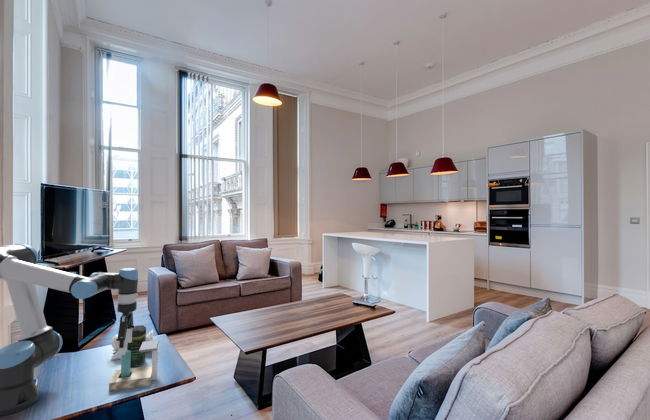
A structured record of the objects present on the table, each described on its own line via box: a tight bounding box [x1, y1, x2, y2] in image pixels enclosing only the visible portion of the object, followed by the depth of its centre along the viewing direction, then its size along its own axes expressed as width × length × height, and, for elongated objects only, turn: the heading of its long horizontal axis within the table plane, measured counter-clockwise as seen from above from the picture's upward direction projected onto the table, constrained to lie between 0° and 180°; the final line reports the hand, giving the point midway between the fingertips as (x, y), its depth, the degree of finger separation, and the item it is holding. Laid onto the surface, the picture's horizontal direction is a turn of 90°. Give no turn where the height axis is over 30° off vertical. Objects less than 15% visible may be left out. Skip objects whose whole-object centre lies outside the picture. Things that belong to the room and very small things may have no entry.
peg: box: [120, 350, 131, 378], centre depth 147 cm, size 4×4×14 cm
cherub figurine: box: [110, 329, 154, 361], centre depth 177 cm, size 13×12×20 cm
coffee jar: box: [127, 324, 147, 368], centre depth 166 cm, size 10×8×19 cm
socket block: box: [108, 365, 153, 392], centre depth 148 cm, size 16×12×4 cm
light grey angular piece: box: [139, 339, 160, 381], centre depth 150 cm, size 7×10×16 cm
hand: (125, 348), depth 147 cm, fingers open, 13 cm apart
